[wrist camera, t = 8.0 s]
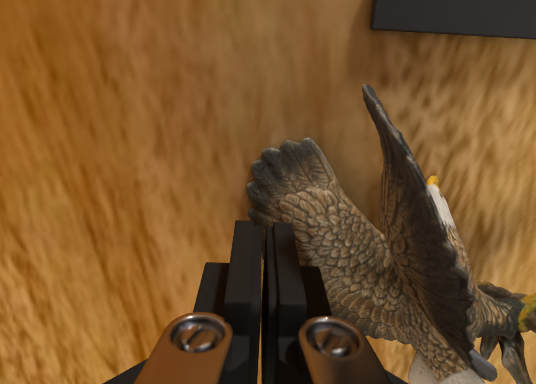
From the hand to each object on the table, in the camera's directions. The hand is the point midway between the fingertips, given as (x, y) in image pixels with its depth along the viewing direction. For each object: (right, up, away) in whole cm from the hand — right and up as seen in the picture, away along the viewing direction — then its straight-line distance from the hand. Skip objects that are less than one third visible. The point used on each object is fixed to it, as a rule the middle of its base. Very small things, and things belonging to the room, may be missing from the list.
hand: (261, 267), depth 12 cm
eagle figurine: (+4, +1, +2) cm, 5 cm away
